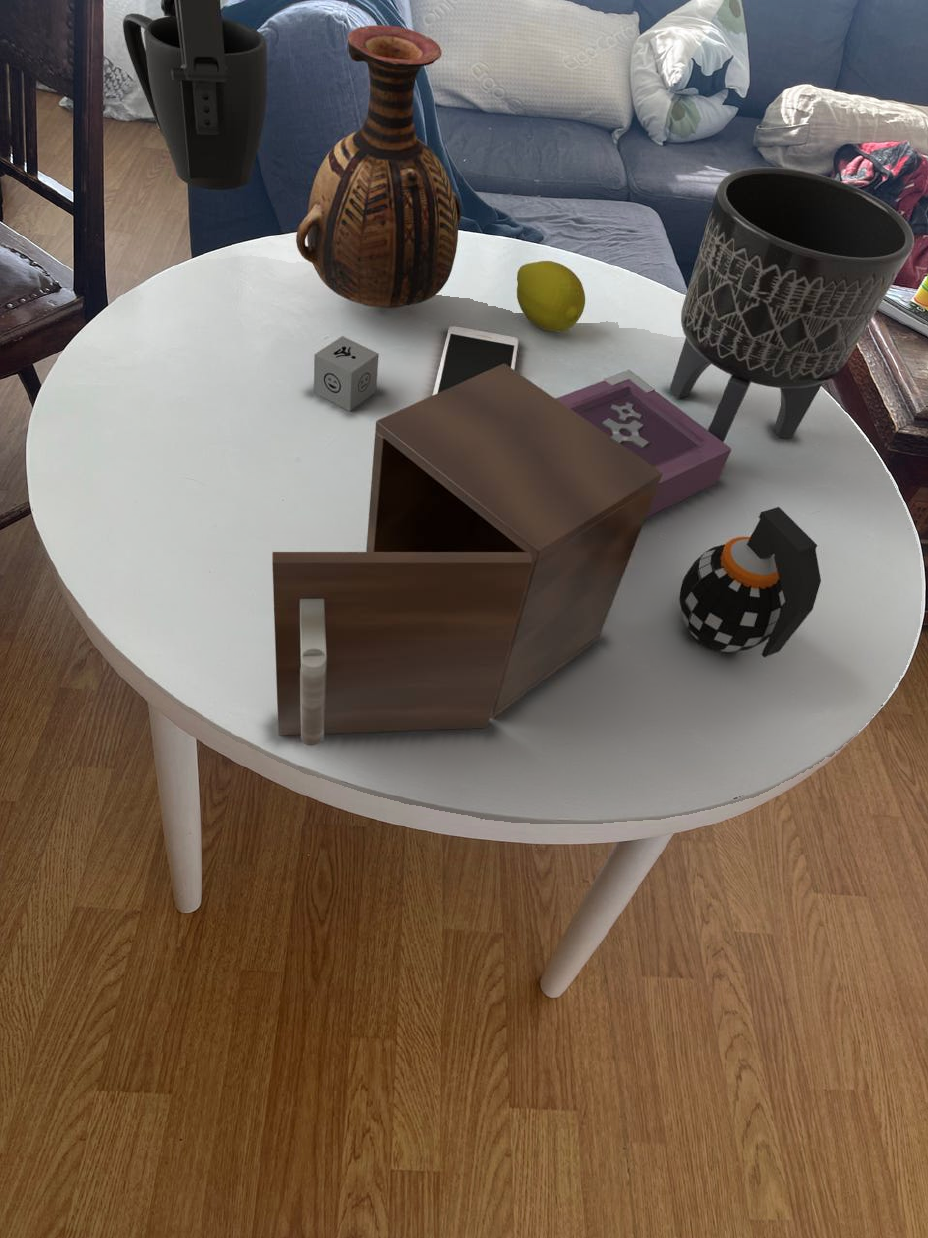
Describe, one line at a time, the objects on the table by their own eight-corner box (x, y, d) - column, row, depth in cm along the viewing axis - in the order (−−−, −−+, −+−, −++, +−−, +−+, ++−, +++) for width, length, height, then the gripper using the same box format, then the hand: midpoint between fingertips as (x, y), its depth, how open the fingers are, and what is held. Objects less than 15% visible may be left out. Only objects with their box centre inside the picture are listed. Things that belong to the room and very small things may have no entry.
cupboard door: (498, 789, 71) (549, 629, 56) (278, 800, 68) (271, 633, 53) (485, 718, 75) (530, 551, 61) (278, 725, 72) (272, 551, 58)
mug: (184, 127, 74) (174, -8, 67) (290, 181, 71) (291, 43, 64) (101, 149, 69) (81, 6, 63) (210, 208, 66) (201, 62, 59)
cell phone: (428, 415, 102) (429, 408, 101) (448, 331, 114) (449, 324, 113) (505, 429, 102) (507, 422, 101) (517, 344, 114) (519, 337, 113)
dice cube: (340, 373, 105) (342, 335, 101) (375, 391, 103) (378, 353, 100) (313, 392, 102) (314, 354, 98) (349, 411, 100) (351, 372, 97)
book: (618, 404, 108) (629, 369, 104) (717, 483, 101) (732, 447, 97) (450, 471, 96) (456, 433, 92) (549, 565, 89) (560, 528, 85)
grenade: (796, 669, 84) (872, 556, 73) (718, 700, 80) (786, 586, 69) (721, 585, 90) (781, 468, 79) (646, 610, 86) (698, 492, 75)
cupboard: (492, 719, 76) (539, 550, 61) (362, 598, 82) (375, 420, 68) (598, 640, 83) (663, 472, 68) (470, 535, 90) (504, 362, 75)
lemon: (590, 341, 117) (606, 284, 111) (539, 351, 114) (553, 292, 108) (547, 298, 123) (560, 241, 117) (498, 306, 119) (508, 248, 113)
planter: (775, 386, 116) (872, 177, 96) (824, 488, 103) (948, 270, 83) (628, 374, 113) (697, 156, 93) (660, 477, 100) (748, 249, 80)
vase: (439, 267, 124) (470, 16, 102) (475, 342, 113) (518, 79, 91) (282, 268, 118) (278, 3, 96) (304, 347, 107) (305, 68, 85)
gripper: (267, -216, 46) (275, 214, 63) (208, -281, 60) (227, 87, 76) (112, -236, 44) (163, 215, 61) (87, -299, 57) (134, 84, 74)
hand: (199, 144), depth 68 cm, fingers closed on mug, 10 cm apart
